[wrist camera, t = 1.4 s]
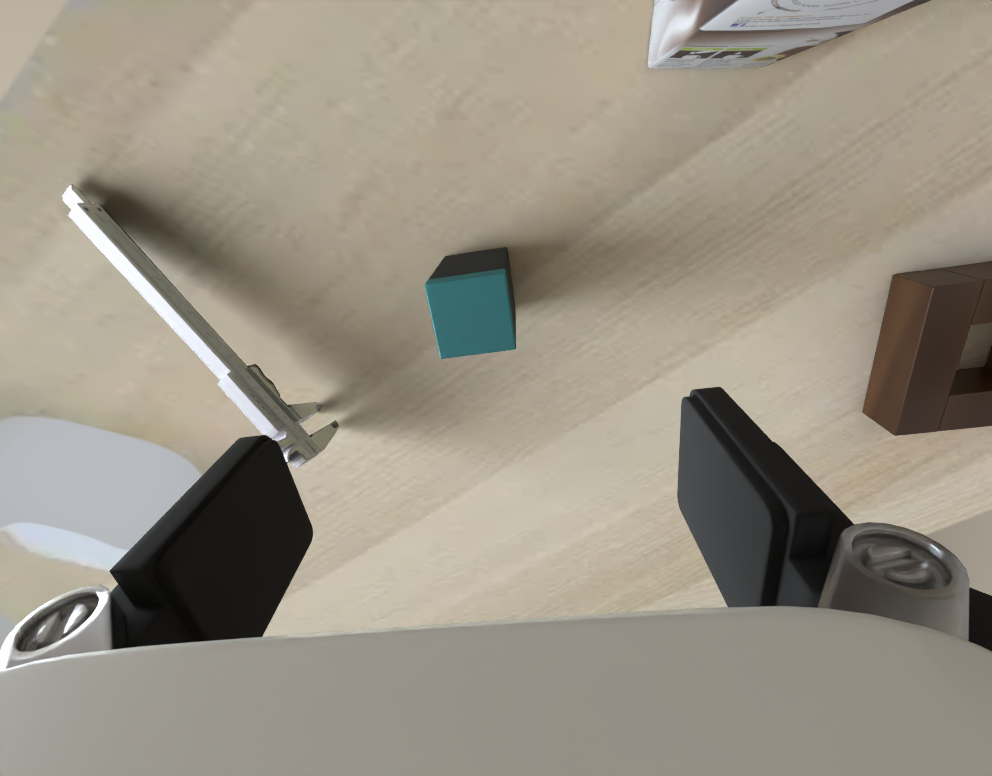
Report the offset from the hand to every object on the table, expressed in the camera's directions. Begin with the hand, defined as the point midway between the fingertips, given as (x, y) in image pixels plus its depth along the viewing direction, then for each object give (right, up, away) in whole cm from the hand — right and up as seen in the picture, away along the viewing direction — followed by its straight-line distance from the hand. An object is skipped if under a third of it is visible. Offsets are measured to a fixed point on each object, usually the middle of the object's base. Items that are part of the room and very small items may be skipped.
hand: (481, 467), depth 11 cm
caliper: (-18, +6, +19) cm, 27 cm away
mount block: (+29, +5, +18) cm, 35 cm away
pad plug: (-1, +8, +18) cm, 19 cm away
